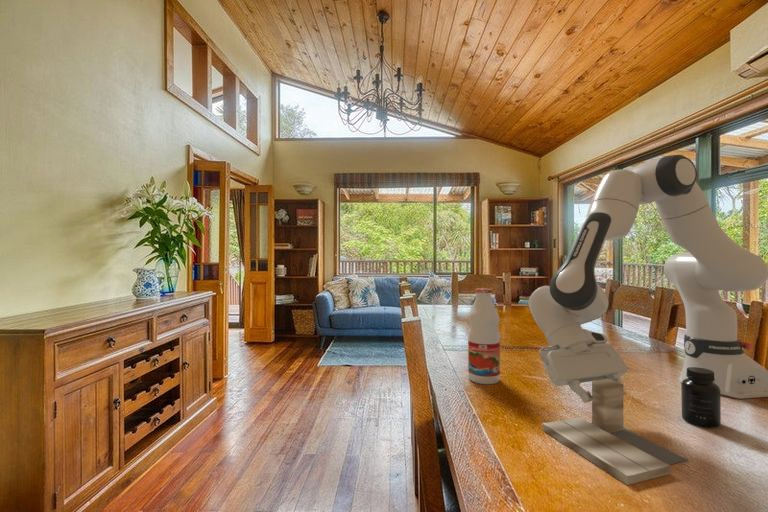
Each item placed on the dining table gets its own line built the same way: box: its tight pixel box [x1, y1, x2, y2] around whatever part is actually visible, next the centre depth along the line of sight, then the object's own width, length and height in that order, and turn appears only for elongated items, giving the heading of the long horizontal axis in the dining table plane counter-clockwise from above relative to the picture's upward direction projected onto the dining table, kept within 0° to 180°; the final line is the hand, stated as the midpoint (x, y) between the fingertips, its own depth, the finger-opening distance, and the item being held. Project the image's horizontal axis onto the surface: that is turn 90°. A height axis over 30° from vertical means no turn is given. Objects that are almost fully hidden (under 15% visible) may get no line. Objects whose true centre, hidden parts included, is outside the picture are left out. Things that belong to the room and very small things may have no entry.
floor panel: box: [542, 416, 671, 486], centre depth 73 cm, size 20×10×2 cm, turn 17°
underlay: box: [590, 422, 689, 466], centre depth 76 cm, size 17×7×1 cm, turn 17°
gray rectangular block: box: [591, 379, 624, 433], centre depth 81 cm, size 4×5×10 cm
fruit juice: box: [467, 287, 501, 385], centre depth 113 cm, size 9×9×28 cm
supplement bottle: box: [680, 367, 722, 429], centre depth 84 cm, size 7×7×12 cm
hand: (605, 398), depth 81 cm, fingers open, 8 cm apart
